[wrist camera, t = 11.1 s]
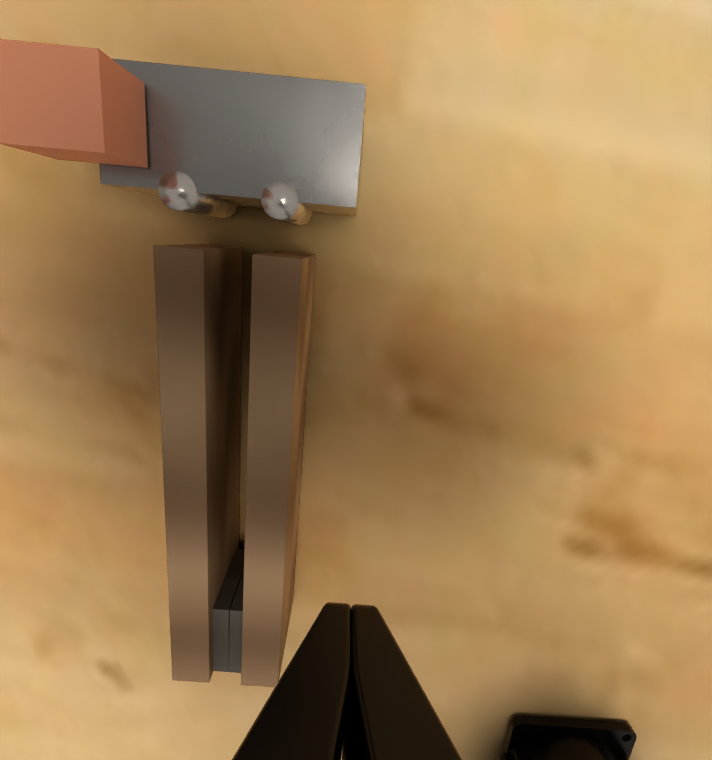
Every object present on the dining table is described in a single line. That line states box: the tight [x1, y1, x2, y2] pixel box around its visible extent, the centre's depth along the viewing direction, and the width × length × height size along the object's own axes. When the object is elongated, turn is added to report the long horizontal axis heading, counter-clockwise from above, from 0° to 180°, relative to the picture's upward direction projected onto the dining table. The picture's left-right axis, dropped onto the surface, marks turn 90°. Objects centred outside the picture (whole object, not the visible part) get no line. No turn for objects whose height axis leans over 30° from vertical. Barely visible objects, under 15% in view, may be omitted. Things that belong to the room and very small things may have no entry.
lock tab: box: [0, 39, 148, 168], centre depth 11 cm, size 2×2×2 cm
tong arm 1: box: [229, 251, 316, 687], centre depth 17 cm, size 16×2×4 cm, turn 175°
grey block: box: [99, 59, 366, 225], centre depth 14 cm, size 7×4×5 cm, turn 85°
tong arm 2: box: [153, 244, 245, 683], centre depth 17 cm, size 16×2×4 cm, turn 175°
